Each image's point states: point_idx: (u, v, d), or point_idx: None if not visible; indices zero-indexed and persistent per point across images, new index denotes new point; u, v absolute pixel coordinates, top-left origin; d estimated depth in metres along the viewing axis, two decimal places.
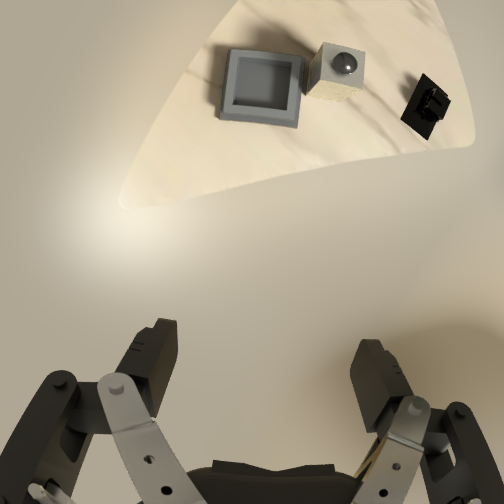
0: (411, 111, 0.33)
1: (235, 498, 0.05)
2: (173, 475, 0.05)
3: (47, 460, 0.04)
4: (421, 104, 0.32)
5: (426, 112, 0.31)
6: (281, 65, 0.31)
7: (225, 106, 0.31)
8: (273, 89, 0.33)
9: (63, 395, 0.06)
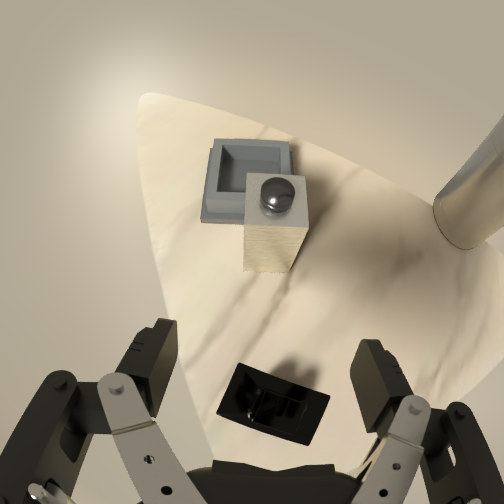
0: (256, 380, 0.25)
1: (235, 498, 0.05)
2: (173, 475, 0.05)
3: (47, 460, 0.04)
4: None
5: (258, 395, 0.22)
6: None
7: (220, 139, 0.31)
8: None
9: (63, 395, 0.06)
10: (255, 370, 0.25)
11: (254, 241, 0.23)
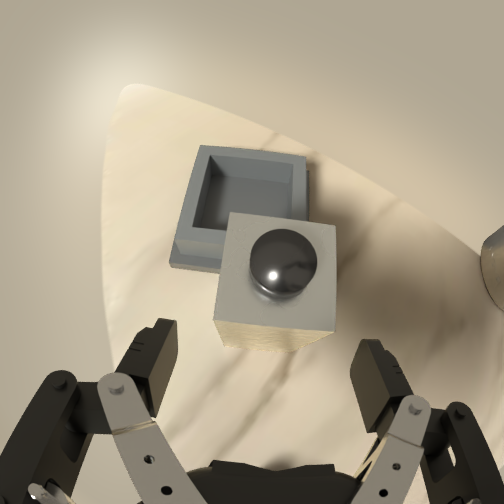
0: None
1: (235, 498, 0.05)
2: (173, 475, 0.05)
3: (47, 460, 0.04)
4: None
5: None
6: None
7: (208, 147, 0.22)
8: None
9: (63, 395, 0.06)
10: None
11: (235, 333, 0.13)
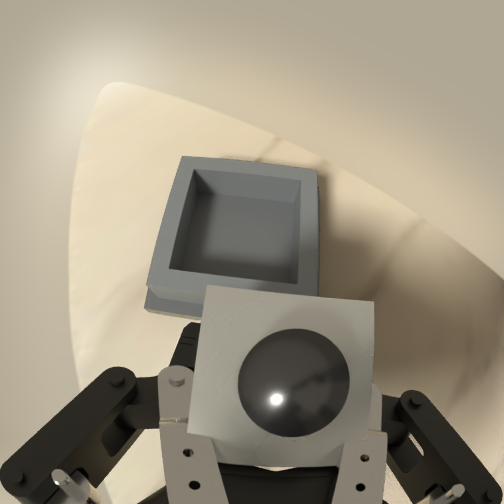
0: None
1: (235, 498, 0.05)
2: (206, 472, 0.05)
3: (82, 451, 0.05)
4: None
5: None
6: (291, 276, 0.17)
7: (192, 158, 0.17)
8: (233, 261, 0.17)
9: (123, 391, 0.07)
10: None
11: None
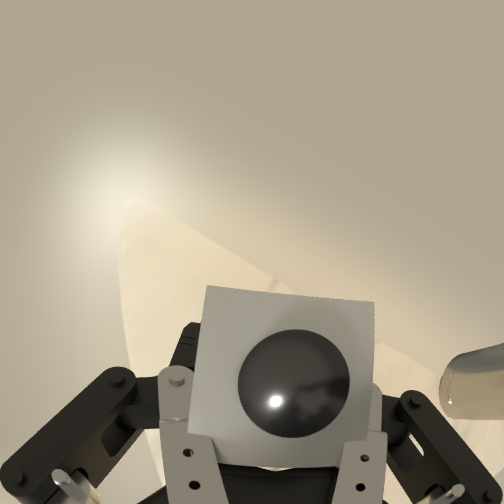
0: None
1: (235, 498, 0.05)
2: (206, 472, 0.05)
3: (82, 451, 0.05)
4: None
5: None
6: None
7: None
8: None
9: (123, 392, 0.07)
10: None
11: None
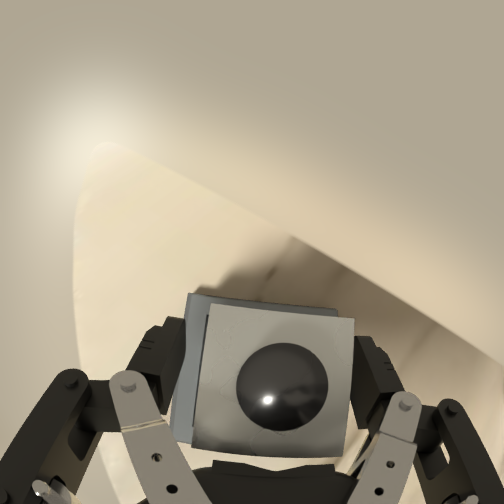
0: None
1: (235, 498, 0.05)
2: (180, 474, 0.05)
3: (54, 457, 0.05)
4: None
5: None
6: None
7: (203, 300, 0.16)
8: None
9: (74, 393, 0.07)
10: None
11: None
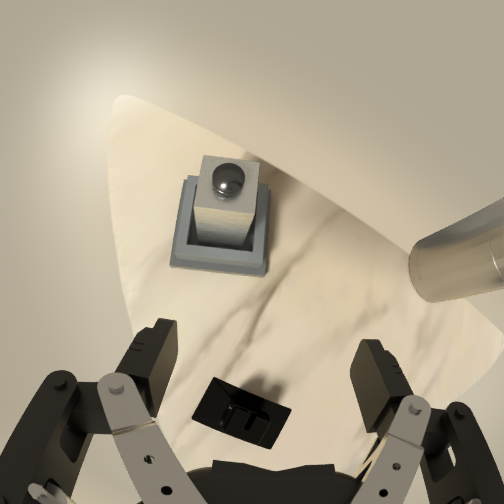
0: (228, 392, 0.28)
1: (235, 498, 0.05)
2: (173, 475, 0.05)
3: (47, 460, 0.04)
4: (242, 407, 0.27)
5: (229, 409, 0.25)
6: (250, 246, 0.31)
7: (194, 177, 0.29)
8: None
9: (63, 395, 0.06)
10: (227, 384, 0.28)
11: (205, 220, 0.24)
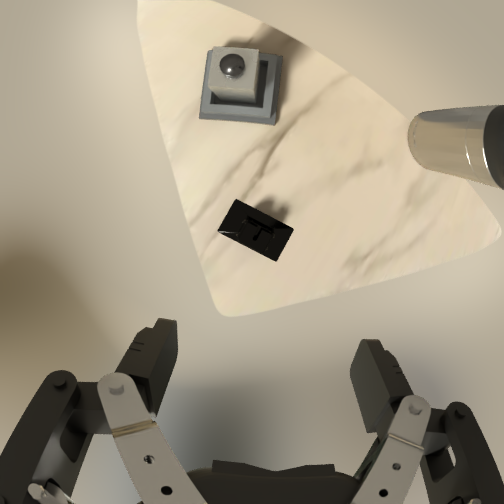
0: (245, 210, 0.40)
1: (235, 498, 0.05)
2: (173, 475, 0.05)
3: (47, 460, 0.04)
4: (255, 222, 0.40)
5: (244, 224, 0.38)
6: (263, 101, 0.34)
7: None
8: None
9: (63, 395, 0.06)
10: (245, 204, 0.40)
11: (219, 91, 0.27)
